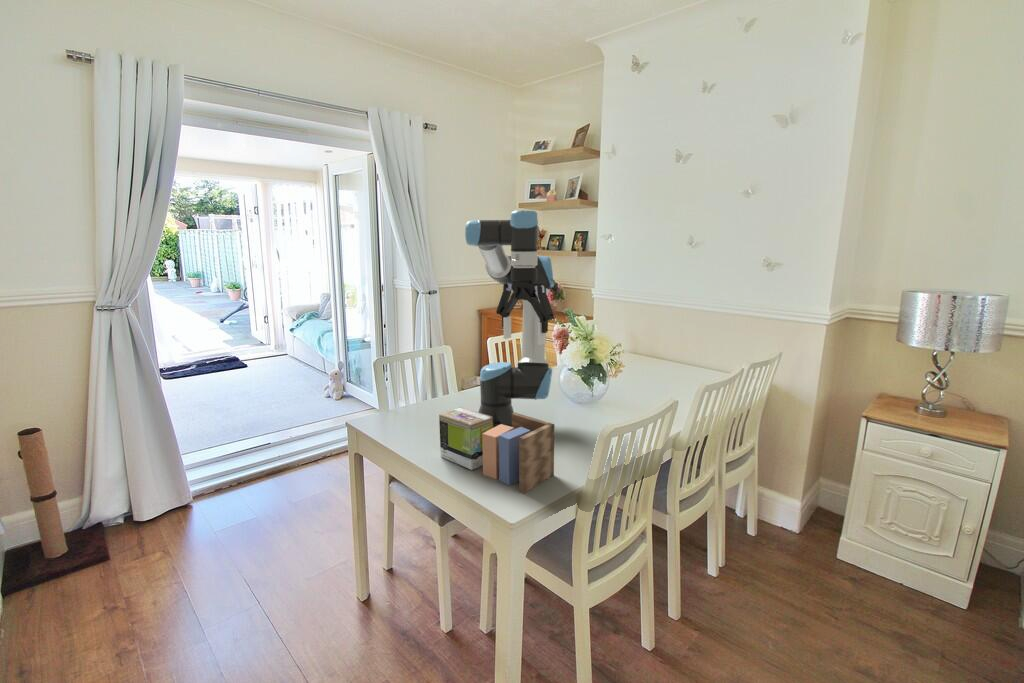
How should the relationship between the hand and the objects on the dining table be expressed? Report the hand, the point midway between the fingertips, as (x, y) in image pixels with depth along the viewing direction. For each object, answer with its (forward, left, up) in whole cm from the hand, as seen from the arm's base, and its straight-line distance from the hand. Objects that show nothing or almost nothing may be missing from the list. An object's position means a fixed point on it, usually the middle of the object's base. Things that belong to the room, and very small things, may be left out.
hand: (524, 341), depth 139 cm
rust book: (+8, -4, -39) cm, 40 cm away
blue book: (+8, +3, -39) cm, 40 cm away
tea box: (+8, -17, -40) cm, 44 cm away
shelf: (+6, +3, -39) cm, 40 cm away
